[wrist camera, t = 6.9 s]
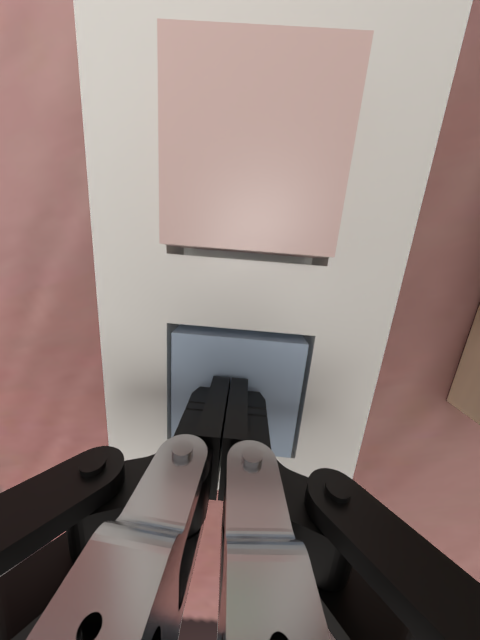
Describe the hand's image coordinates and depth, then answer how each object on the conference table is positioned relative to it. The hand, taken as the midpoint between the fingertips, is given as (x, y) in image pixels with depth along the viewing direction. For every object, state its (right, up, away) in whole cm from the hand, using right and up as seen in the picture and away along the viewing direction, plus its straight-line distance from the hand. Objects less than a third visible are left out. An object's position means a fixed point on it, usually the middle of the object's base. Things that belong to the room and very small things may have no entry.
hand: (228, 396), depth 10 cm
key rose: (+1, +9, -1) cm, 9 cm away
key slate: (0, 0, +3) cm, 3 cm away
